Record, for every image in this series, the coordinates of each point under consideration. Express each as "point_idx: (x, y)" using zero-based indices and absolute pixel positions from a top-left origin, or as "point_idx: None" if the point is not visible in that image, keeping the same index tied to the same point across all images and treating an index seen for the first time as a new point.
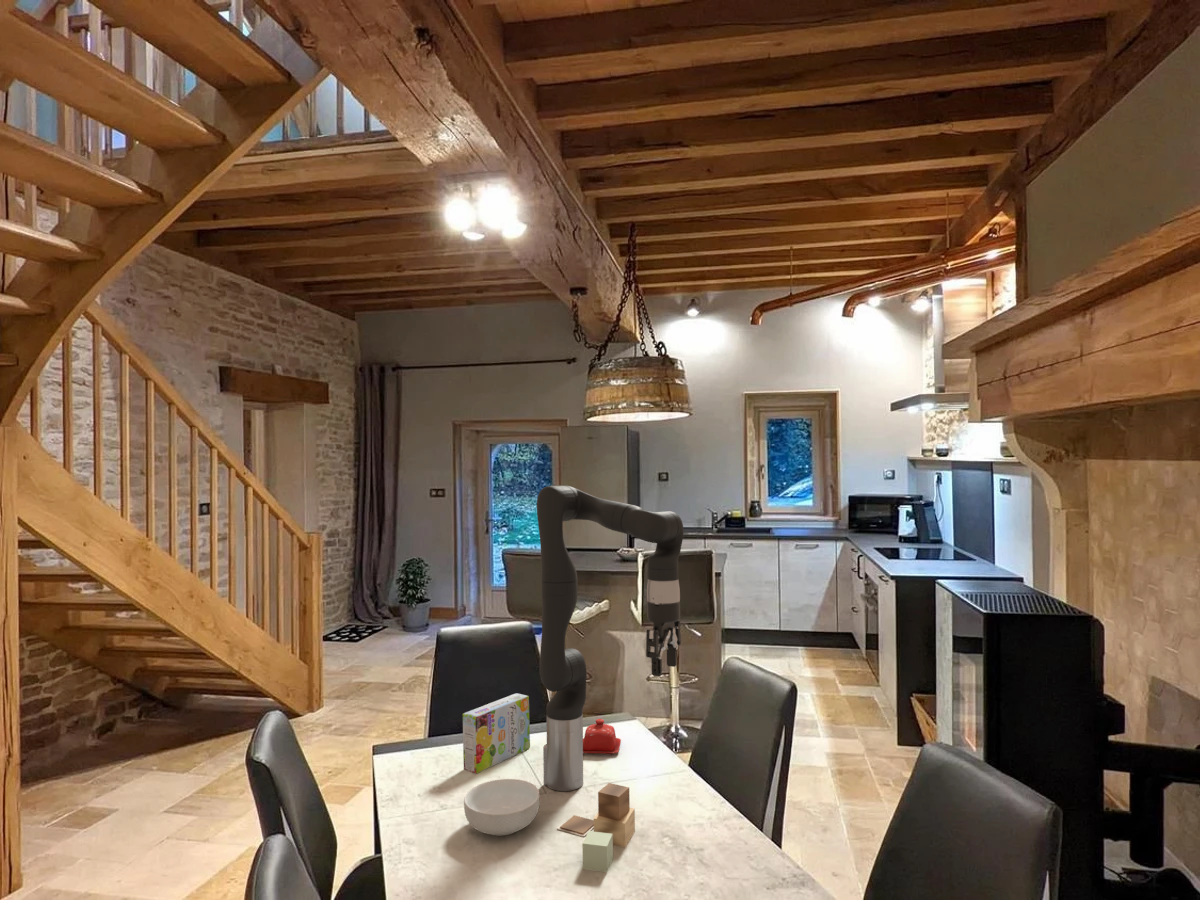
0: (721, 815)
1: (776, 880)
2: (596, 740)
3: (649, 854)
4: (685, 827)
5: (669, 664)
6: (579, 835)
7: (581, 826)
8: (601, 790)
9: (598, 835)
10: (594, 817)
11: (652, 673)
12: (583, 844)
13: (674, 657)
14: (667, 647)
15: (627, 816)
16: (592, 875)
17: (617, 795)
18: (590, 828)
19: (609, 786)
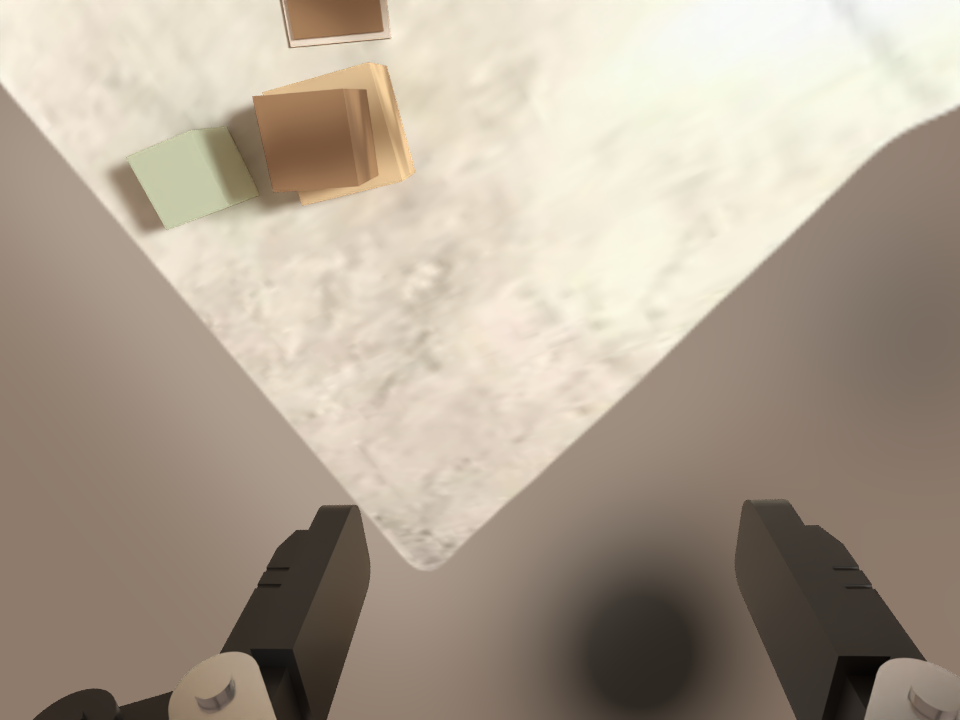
0: (627, 347)
1: (412, 524)
2: None
3: (336, 269)
4: (513, 290)
5: (749, 529)
6: (287, 26)
7: (323, 2)
8: (270, 101)
9: (191, 174)
10: (269, 90)
11: (319, 516)
12: (128, 160)
13: (773, 656)
14: (868, 701)
15: (343, 189)
16: None
17: (278, 181)
18: (339, 35)
19: (317, 110)
